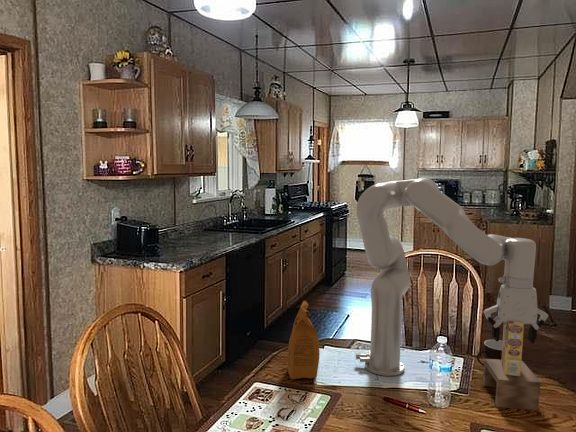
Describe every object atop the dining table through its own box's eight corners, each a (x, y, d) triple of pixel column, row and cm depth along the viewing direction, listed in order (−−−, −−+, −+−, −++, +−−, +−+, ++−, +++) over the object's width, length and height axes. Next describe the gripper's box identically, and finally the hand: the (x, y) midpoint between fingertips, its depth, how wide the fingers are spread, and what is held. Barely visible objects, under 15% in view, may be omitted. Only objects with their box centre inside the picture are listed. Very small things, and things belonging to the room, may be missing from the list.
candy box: (520, 377, 140) (525, 324, 138) (504, 375, 141) (508, 322, 139) (515, 364, 149) (519, 314, 147) (499, 362, 150) (503, 312, 148)
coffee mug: (506, 369, 164) (508, 340, 162) (515, 381, 155) (517, 350, 154) (469, 367, 165) (471, 338, 163) (476, 379, 156) (478, 348, 155)
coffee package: (318, 364, 165) (319, 299, 162) (319, 382, 153) (321, 312, 150) (287, 363, 165) (289, 298, 163) (286, 380, 153) (287, 311, 150)
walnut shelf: (496, 406, 140) (498, 379, 139) (482, 383, 153) (484, 358, 152) (538, 409, 138) (540, 382, 137) (520, 386, 152) (522, 360, 151)
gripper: (490, 284, 139) (485, 343, 141) (556, 287, 137) (550, 347, 139) (482, 277, 146) (478, 334, 148) (545, 280, 144) (540, 337, 147)
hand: (513, 340), depth 144 cm, fingers open, 9 cm apart
